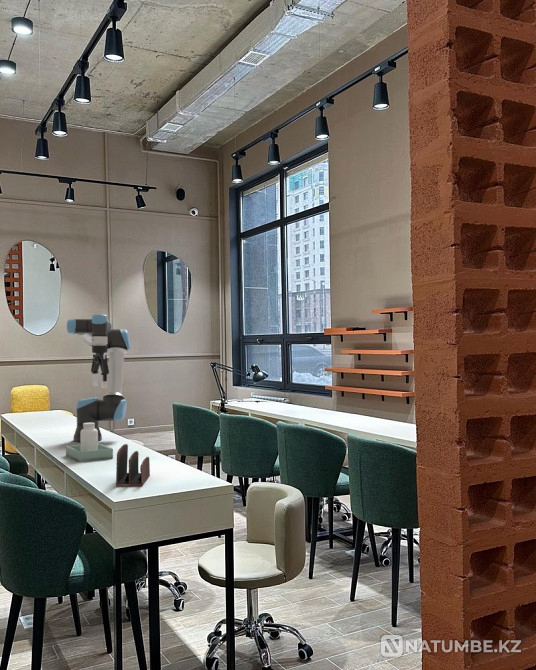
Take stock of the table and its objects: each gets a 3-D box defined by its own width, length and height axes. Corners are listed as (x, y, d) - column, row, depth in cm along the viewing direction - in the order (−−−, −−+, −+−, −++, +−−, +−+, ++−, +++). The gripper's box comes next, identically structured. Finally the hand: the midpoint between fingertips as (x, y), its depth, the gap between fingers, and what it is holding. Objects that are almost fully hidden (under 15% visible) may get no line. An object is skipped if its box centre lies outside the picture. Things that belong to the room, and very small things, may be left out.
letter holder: (115, 487, 244) (115, 449, 244) (125, 476, 263) (125, 441, 264) (142, 487, 244) (142, 449, 244) (150, 476, 264) (150, 441, 264)
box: (66, 455, 311) (66, 446, 311) (98, 452, 320) (98, 443, 320) (78, 462, 294) (78, 452, 294) (112, 458, 303) (112, 448, 303)
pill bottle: (76, 455, 305) (76, 423, 305) (89, 452, 312) (88, 421, 313) (89, 456, 302) (89, 424, 302) (101, 454, 309) (101, 422, 309)
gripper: (84, 344, 336) (84, 386, 336) (100, 345, 315) (100, 389, 315) (98, 344, 340) (98, 385, 340) (115, 345, 319) (115, 388, 319)
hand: (99, 387), depth 327 cm, fingers open, 13 cm apart
